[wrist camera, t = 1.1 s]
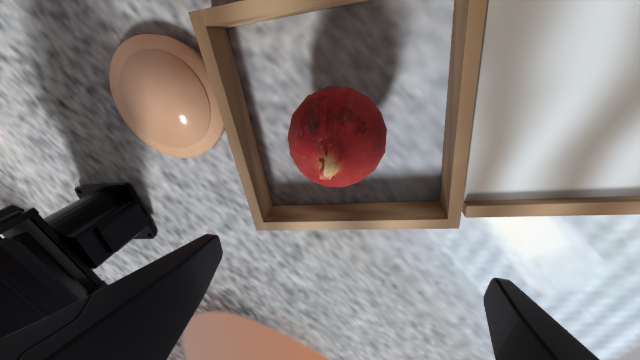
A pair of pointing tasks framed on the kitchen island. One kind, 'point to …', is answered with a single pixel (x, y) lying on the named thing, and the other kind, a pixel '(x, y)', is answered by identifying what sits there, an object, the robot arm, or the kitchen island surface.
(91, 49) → the kitchen island surface
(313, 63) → the kitchen island surface
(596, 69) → the wooden double frame
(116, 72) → the saucer
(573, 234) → the kitchen island surface
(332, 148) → the onion
